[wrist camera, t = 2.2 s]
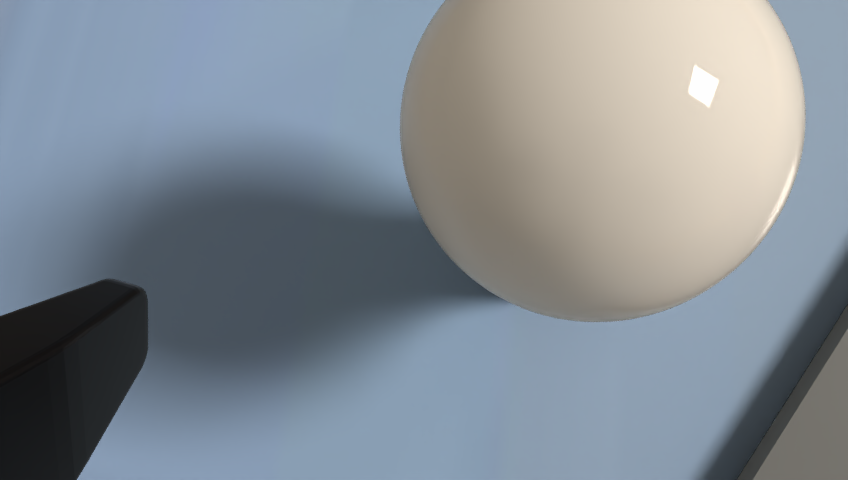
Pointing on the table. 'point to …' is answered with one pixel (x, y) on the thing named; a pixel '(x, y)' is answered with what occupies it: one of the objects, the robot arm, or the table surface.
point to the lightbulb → (601, 146)
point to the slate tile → (810, 421)
